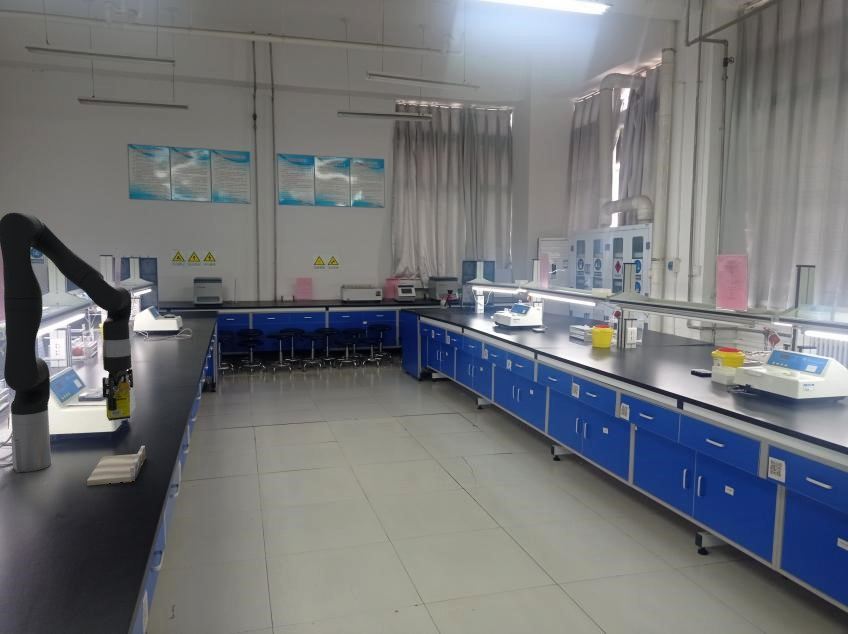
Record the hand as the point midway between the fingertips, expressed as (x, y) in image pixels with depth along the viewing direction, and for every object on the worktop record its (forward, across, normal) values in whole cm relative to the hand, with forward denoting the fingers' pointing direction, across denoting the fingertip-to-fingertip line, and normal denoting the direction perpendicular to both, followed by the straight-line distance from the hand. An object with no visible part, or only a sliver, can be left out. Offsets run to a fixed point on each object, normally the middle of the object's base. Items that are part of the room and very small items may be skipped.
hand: (119, 406), depth 180 cm
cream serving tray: (+18, -5, -1) cm, 19 cm away
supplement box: (+3, 0, 0) cm, 3 cm away
